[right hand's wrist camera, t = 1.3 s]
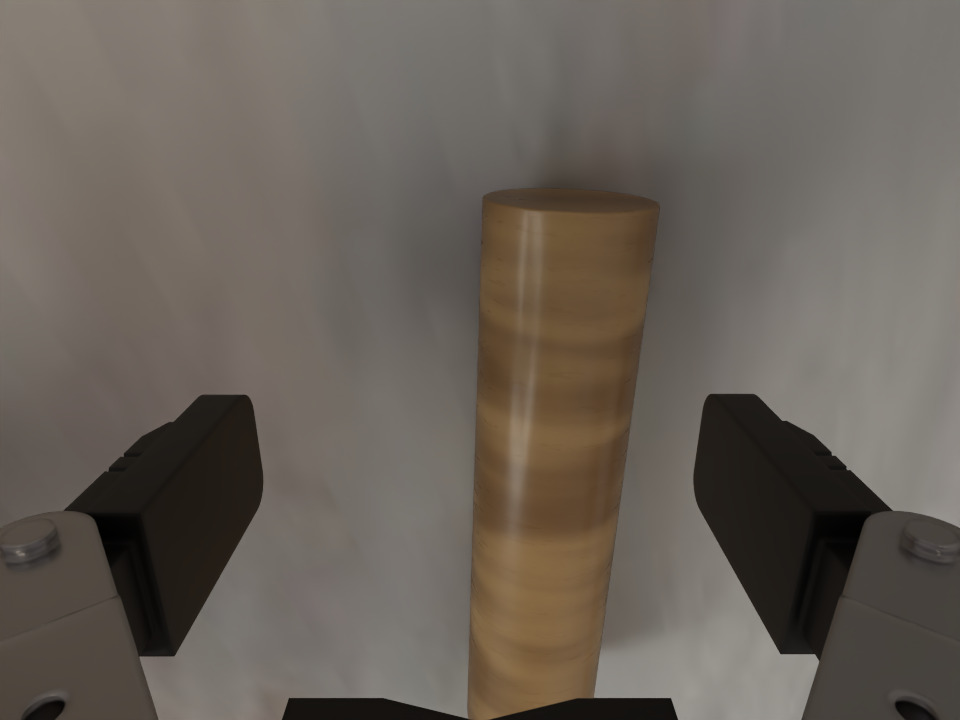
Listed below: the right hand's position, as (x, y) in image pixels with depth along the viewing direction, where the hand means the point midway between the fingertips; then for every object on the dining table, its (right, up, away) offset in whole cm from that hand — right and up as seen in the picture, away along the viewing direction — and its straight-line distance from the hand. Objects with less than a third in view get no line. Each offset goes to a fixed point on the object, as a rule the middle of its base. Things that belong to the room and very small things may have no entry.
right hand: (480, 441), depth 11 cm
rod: (+3, -3, +18) cm, 19 cm away
